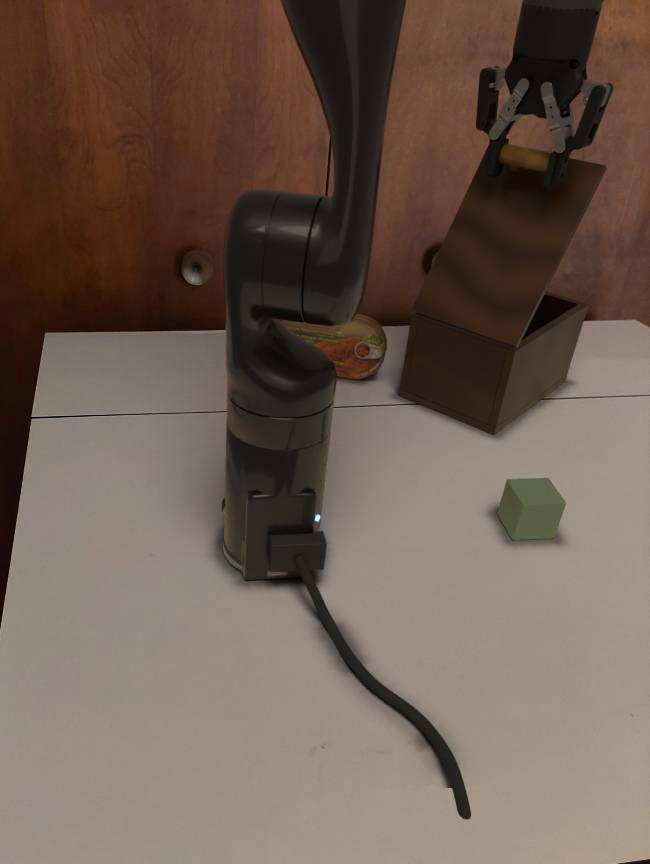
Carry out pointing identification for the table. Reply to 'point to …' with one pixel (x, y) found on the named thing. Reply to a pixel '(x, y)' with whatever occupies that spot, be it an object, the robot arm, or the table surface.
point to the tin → (347, 344)
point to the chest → (490, 365)
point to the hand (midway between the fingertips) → (521, 181)
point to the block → (531, 508)
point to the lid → (506, 245)
